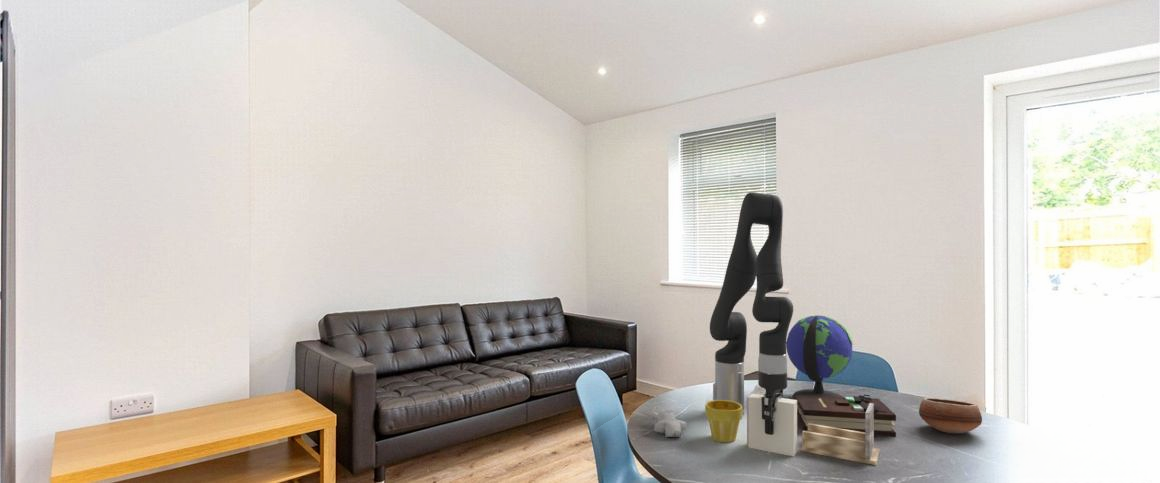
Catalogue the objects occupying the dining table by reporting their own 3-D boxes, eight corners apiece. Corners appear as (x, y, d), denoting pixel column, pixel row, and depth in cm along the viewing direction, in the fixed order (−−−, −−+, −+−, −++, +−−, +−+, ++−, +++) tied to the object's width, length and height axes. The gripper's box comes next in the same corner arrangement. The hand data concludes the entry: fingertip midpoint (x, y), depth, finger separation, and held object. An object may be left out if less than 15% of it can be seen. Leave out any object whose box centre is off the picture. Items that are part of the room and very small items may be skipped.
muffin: (754, 400, 200) (754, 381, 200) (771, 403, 196) (771, 383, 196) (748, 405, 195) (748, 384, 195) (766, 408, 191) (766, 387, 191)
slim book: (747, 447, 156) (746, 396, 156) (751, 442, 159) (751, 393, 159) (793, 456, 149) (793, 403, 149) (797, 451, 153) (797, 400, 152)
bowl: (975, 427, 171) (975, 394, 171) (987, 445, 157) (987, 409, 157) (915, 420, 178) (915, 389, 178) (922, 436, 164) (922, 402, 163)
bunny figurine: (659, 426, 161) (646, 405, 176) (658, 443, 162) (646, 420, 177) (691, 425, 162) (675, 404, 177) (690, 442, 163) (675, 419, 178)
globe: (865, 408, 191) (865, 319, 190) (799, 408, 191) (799, 319, 191) (836, 390, 213) (836, 311, 213) (777, 390, 213) (777, 311, 213)
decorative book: (786, 390, 187) (885, 395, 181) (786, 413, 187) (885, 419, 181) (796, 407, 168) (906, 414, 162) (796, 432, 168) (906, 440, 162)
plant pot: (722, 447, 156) (722, 412, 156) (697, 435, 165) (697, 402, 165) (750, 441, 160) (750, 407, 160) (725, 430, 170) (725, 397, 169)
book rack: (801, 450, 153) (801, 403, 153) (809, 439, 161) (809, 394, 161) (876, 465, 143) (876, 414, 143) (879, 452, 152) (880, 404, 152)
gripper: (765, 363, 162) (765, 420, 162) (751, 373, 150) (751, 435, 150) (792, 366, 158) (792, 425, 158) (780, 376, 146) (780, 440, 146)
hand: (772, 429), depth 154 cm, fingers open, 7 cm apart
